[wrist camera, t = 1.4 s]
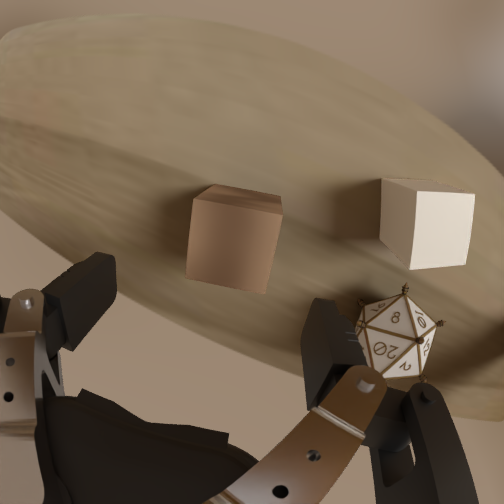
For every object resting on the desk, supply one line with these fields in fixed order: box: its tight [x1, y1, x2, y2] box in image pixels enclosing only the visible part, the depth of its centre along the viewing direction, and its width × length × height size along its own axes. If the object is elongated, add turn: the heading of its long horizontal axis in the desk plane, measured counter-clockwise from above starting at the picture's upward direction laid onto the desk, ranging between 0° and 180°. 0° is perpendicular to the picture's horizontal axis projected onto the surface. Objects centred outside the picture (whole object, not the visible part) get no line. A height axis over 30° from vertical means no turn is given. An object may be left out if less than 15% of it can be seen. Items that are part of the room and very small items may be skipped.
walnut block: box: [185, 184, 283, 294], centre depth 19 cm, size 5×5×6 cm
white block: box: [379, 178, 475, 270], centre depth 17 cm, size 5×5×6 cm
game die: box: [355, 283, 446, 383], centre depth 20 cm, size 9×8×10 cm
